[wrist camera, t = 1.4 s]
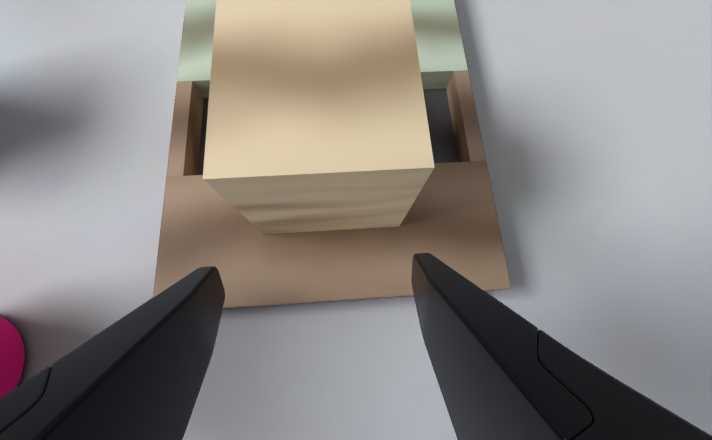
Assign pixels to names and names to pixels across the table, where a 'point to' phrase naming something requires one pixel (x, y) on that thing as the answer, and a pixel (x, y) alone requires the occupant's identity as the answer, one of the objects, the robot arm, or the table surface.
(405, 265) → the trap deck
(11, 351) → the pepper mill
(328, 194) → the maple block
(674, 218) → the table surface
